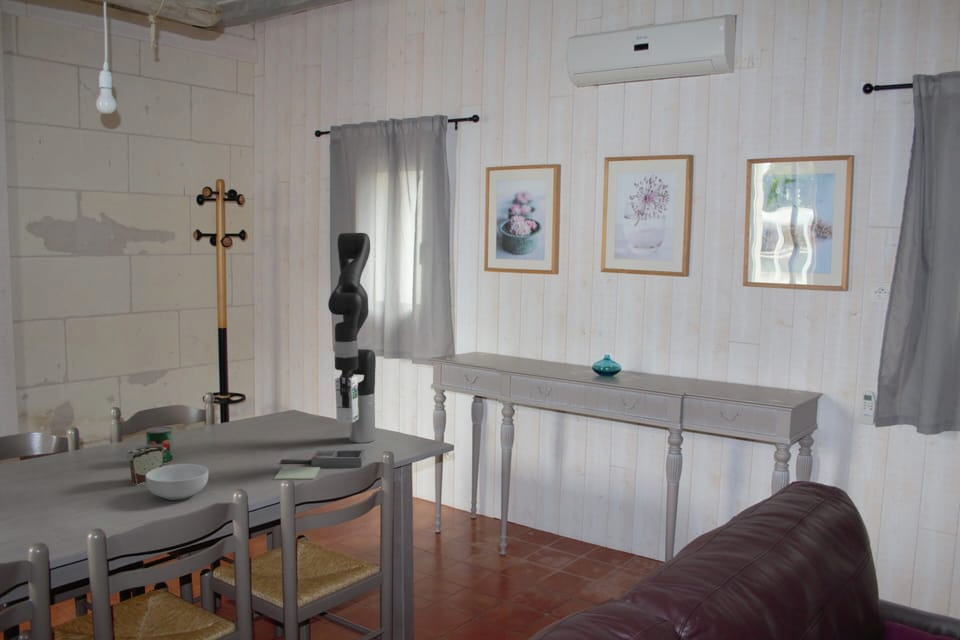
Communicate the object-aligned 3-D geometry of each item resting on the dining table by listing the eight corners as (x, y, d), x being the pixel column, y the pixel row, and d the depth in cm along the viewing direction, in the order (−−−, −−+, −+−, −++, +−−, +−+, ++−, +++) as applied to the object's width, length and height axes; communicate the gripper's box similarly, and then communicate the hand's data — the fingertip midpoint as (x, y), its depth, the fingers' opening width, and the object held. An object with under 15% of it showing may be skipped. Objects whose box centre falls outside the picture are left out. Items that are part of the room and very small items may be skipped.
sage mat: (282, 468, 263) (282, 467, 263) (320, 468, 263) (320, 466, 263) (274, 479, 251) (274, 478, 251) (313, 479, 251) (313, 478, 251)
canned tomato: (166, 457, 276) (165, 425, 275) (177, 462, 270) (175, 429, 269) (143, 461, 270) (141, 429, 269) (153, 466, 265) (151, 433, 263)
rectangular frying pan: (283, 458, 274) (283, 448, 273) (365, 458, 274) (365, 448, 274) (276, 467, 264) (276, 457, 264) (361, 467, 264) (361, 456, 264)
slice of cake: (151, 473, 257) (150, 442, 256) (165, 476, 254) (164, 444, 253) (118, 484, 246) (116, 451, 245) (132, 487, 243) (131, 454, 242)
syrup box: (353, 423, 265) (352, 378, 263) (335, 422, 266) (334, 378, 264) (359, 419, 270) (358, 375, 268) (342, 418, 271) (341, 375, 270)
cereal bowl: (135, 504, 228) (134, 479, 227) (161, 486, 244) (160, 463, 244) (195, 505, 227) (194, 481, 226) (217, 487, 244) (217, 464, 243)
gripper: (338, 351, 272) (339, 400, 274) (331, 358, 258) (332, 410, 260) (360, 351, 273) (361, 400, 275) (355, 358, 258) (355, 410, 260)
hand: (347, 405), depth 267 cm, fingers closed on syrup box, 6 cm apart
